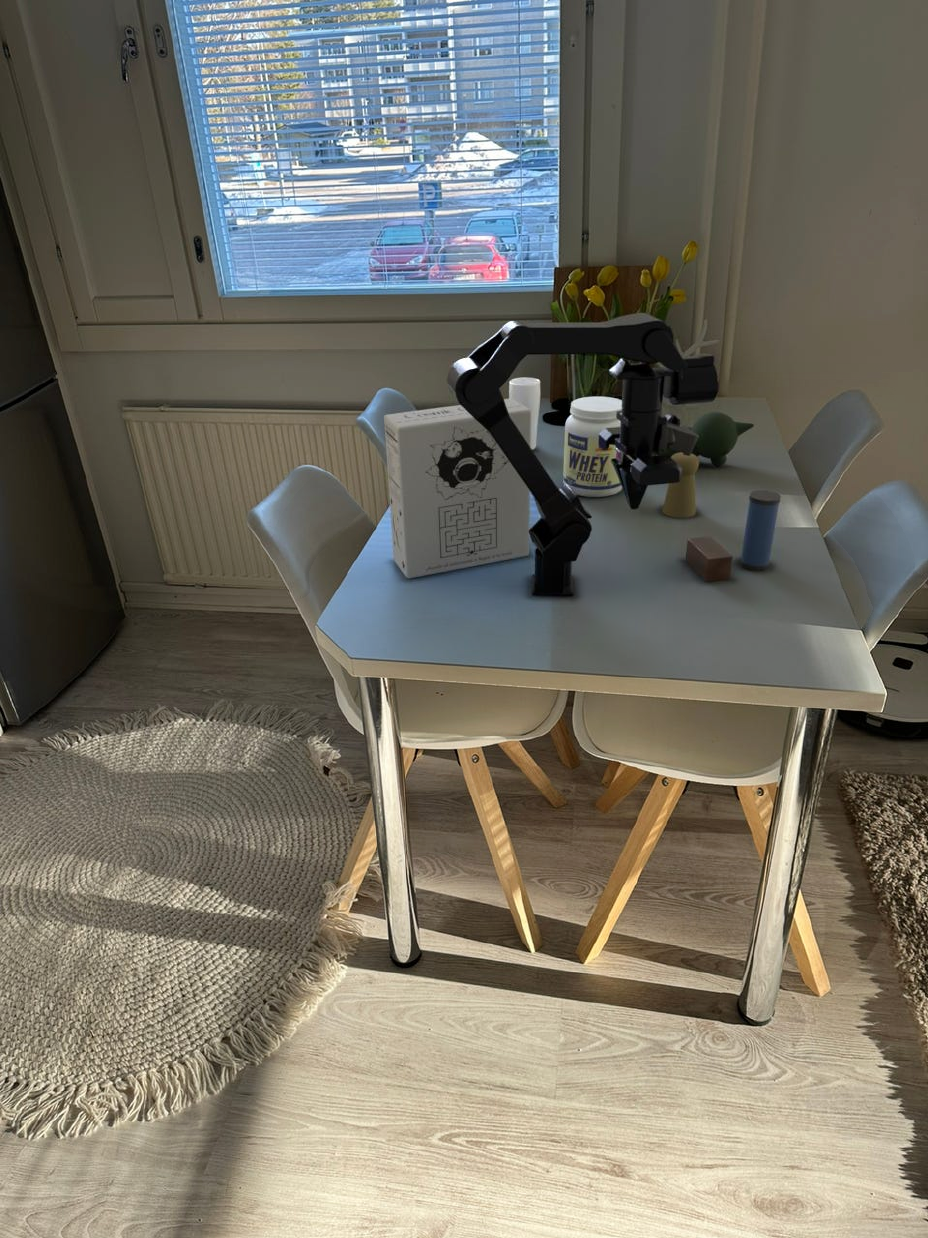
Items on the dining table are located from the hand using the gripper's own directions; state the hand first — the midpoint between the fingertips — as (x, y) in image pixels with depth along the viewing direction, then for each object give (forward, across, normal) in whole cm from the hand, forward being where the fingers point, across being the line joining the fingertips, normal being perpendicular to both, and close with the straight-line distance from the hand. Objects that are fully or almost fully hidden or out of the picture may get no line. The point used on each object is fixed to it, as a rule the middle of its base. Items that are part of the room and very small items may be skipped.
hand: (633, 508), depth 133 cm
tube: (+6, 0, -22) cm, 22 cm away
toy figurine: (+12, +48, -30) cm, 58 cm away
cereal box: (+12, +14, +24) cm, 30 cm away
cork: (+12, +24, -19) cm, 33 cm away
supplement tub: (+12, +39, -7) cm, 42 cm away
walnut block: (+12, 0, -13) cm, 18 cm away
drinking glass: (+12, +66, 0) cm, 67 cm away
